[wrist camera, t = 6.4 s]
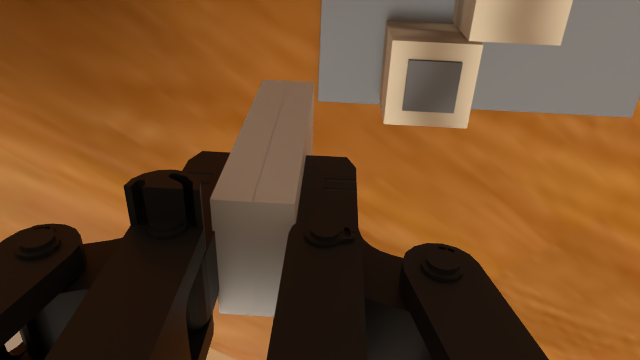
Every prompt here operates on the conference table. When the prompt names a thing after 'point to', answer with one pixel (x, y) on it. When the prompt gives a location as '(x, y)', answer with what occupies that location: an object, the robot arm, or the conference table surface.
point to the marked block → (427, 74)
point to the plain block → (512, 20)
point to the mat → (496, 58)
